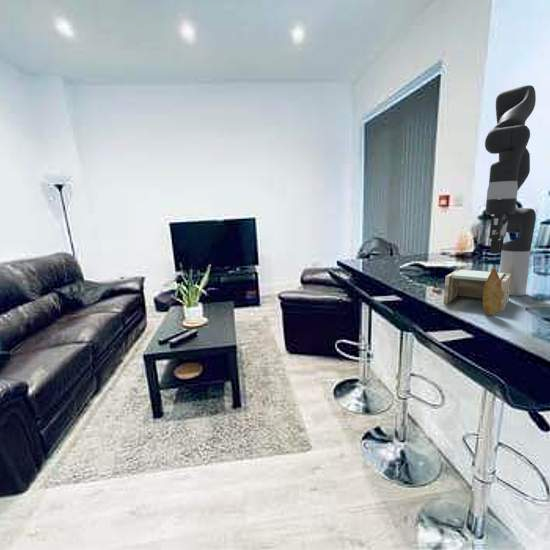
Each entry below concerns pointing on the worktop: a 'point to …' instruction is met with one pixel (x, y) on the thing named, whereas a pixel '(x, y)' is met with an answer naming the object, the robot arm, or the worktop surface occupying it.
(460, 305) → the worktop surface
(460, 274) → the trapdoor
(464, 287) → the trapdoor frame
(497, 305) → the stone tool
